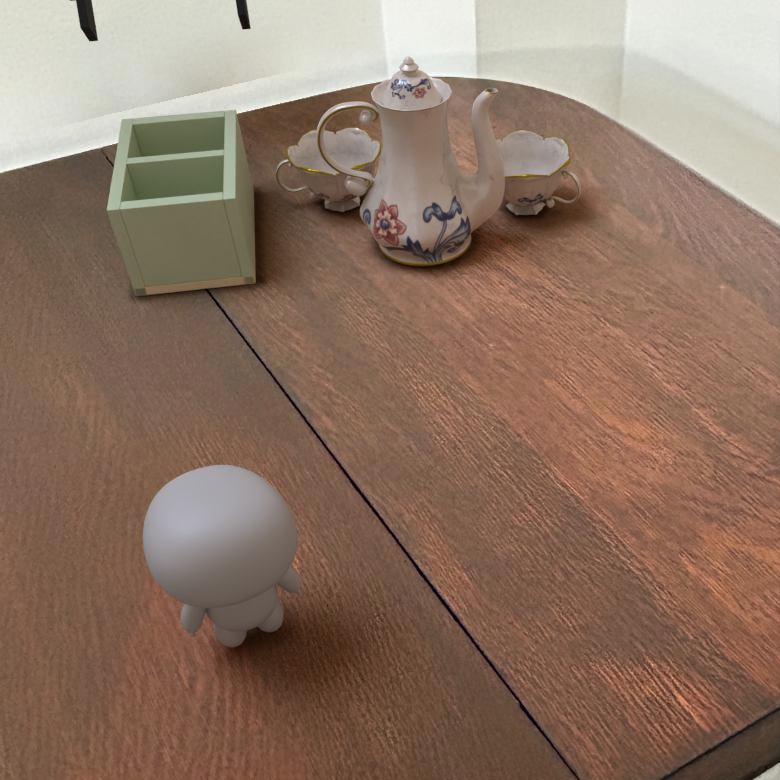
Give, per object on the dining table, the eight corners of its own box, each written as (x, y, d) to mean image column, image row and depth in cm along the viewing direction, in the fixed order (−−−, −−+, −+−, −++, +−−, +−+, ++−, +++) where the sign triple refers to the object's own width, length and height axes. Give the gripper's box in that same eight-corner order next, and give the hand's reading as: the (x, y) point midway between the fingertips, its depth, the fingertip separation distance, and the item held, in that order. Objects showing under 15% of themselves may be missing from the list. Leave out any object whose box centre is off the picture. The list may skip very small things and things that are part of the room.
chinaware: (573, 192, 101) (576, 9, 90) (588, 270, 89) (594, 69, 78) (289, 199, 100) (257, 15, 89) (263, 279, 88) (223, 77, 77)
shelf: (147, 201, 97) (121, 119, 91) (254, 191, 98) (235, 109, 93) (135, 296, 86) (106, 210, 81) (255, 283, 88) (235, 197, 82)
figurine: (294, 568, 66) (256, 428, 57) (337, 651, 61) (304, 513, 53) (171, 616, 63) (111, 476, 54) (206, 706, 59) (148, 570, 50)
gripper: (276, -193, 96) (310, 36, 98) (-2, -179, 93) (37, 57, 94) (266, -251, 89) (303, -3, 90) (-36, -238, 86) (6, 19, 87)
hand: (167, 28), depth 92 cm, fingers open, 13 cm apart
